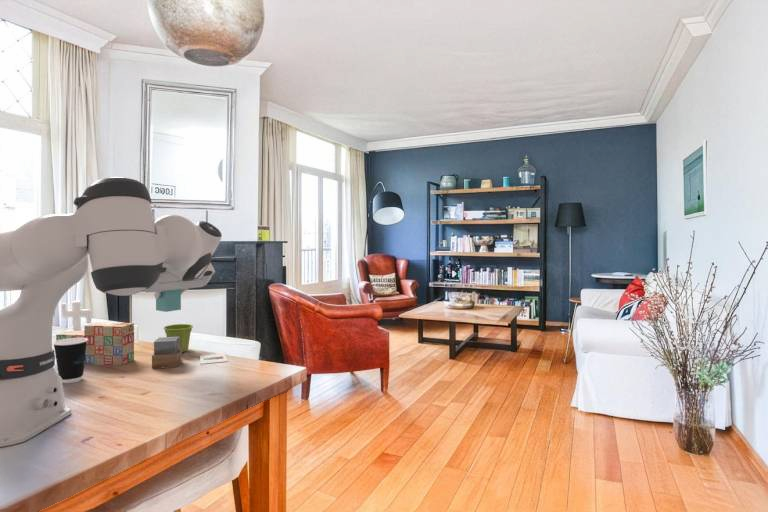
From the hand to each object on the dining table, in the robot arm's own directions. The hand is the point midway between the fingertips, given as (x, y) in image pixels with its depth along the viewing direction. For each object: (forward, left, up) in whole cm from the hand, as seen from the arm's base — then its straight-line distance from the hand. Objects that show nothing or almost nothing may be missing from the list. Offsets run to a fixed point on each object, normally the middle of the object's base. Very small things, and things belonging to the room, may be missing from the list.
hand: (167, 295), depth 139 cm
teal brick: (0, 0, -4) cm, 4 cm away
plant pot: (+17, 0, -22) cm, 27 cm away
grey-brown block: (0, 0, -21) cm, 22 cm away
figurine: (+43, +41, -22) cm, 63 cm away
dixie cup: (-11, +22, -22) cm, 33 cm away
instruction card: (+4, -13, -21) cm, 25 cm away
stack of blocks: (+8, +23, -22) cm, 33 cm away
